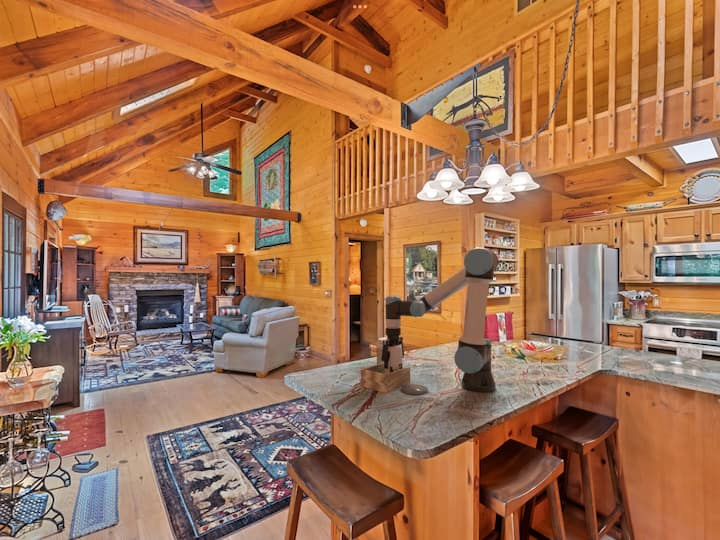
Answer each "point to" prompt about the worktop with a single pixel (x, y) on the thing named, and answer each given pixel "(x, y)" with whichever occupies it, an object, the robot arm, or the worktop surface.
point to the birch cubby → (384, 378)
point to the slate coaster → (414, 389)
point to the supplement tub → (380, 349)
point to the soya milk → (395, 358)
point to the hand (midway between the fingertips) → (393, 372)
